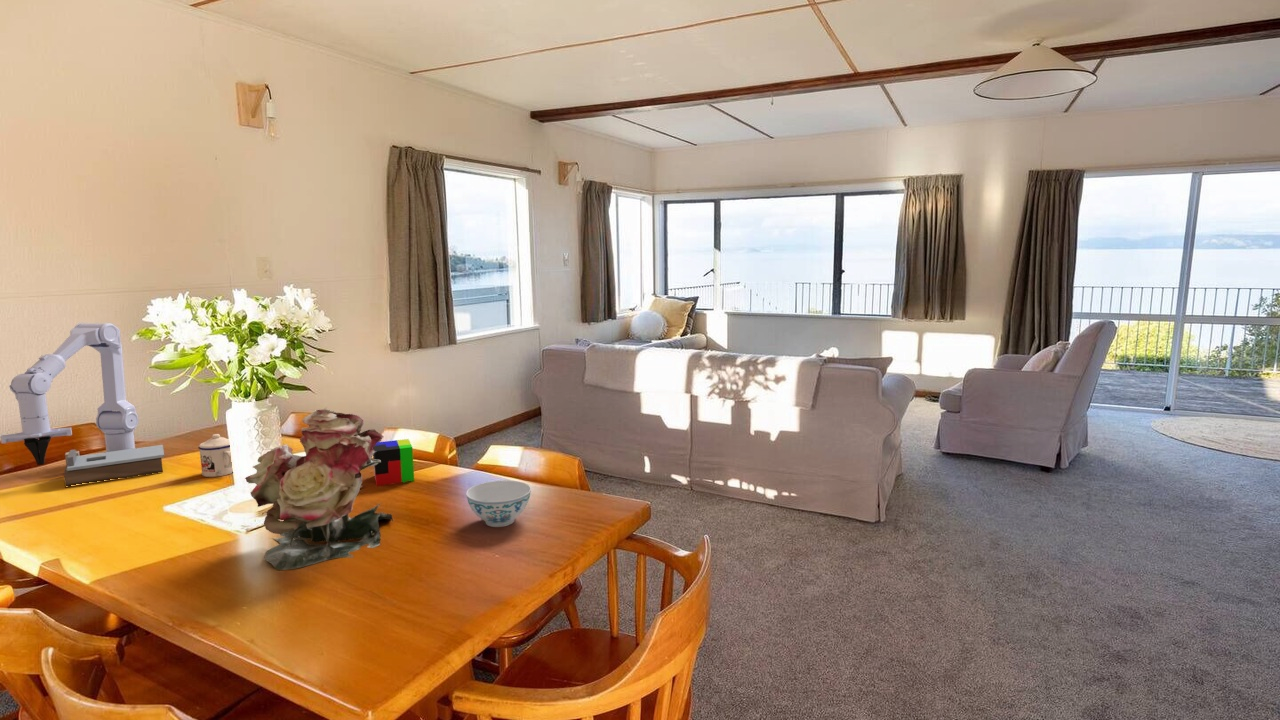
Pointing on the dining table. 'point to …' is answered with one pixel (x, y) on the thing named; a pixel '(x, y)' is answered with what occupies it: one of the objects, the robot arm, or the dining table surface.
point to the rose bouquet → (318, 491)
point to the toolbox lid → (113, 457)
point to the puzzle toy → (393, 462)
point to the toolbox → (112, 471)
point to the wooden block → (68, 453)
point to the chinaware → (498, 501)
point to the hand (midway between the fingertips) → (41, 464)
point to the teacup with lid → (215, 457)
